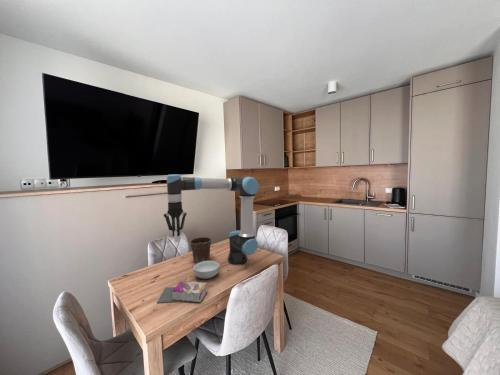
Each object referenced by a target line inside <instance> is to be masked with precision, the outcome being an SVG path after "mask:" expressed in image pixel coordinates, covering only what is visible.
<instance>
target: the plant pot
mask: <svg viewBox="0 0 500 375" xmlns="http://www.w3.org/2000/svg"><path fill="white" fill-rule="evenodd" d="M211 242H212V238H211V237H207V236H206V237H205V236H203V237H202V236H201V237H195V238H193V239H191V240H190V241H189V243H190V247H191V250H192V258H193V263H195V264H197V263H200V262H203V261H211V259H210V257H211V256H210V255H211Z"/></svg>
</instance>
